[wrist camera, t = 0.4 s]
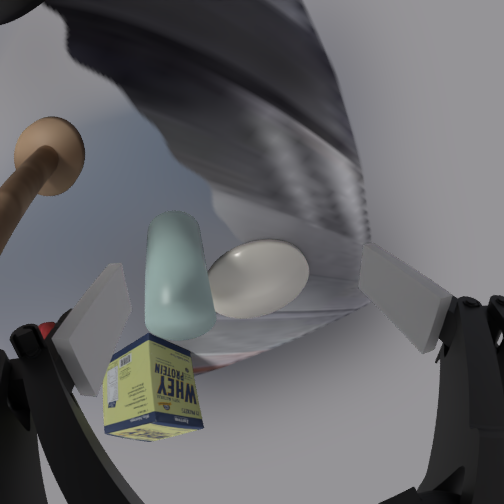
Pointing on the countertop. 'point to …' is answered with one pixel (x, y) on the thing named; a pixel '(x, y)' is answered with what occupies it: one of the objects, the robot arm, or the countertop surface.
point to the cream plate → (257, 278)
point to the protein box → (150, 391)
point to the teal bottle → (177, 279)
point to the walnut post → (40, 169)
